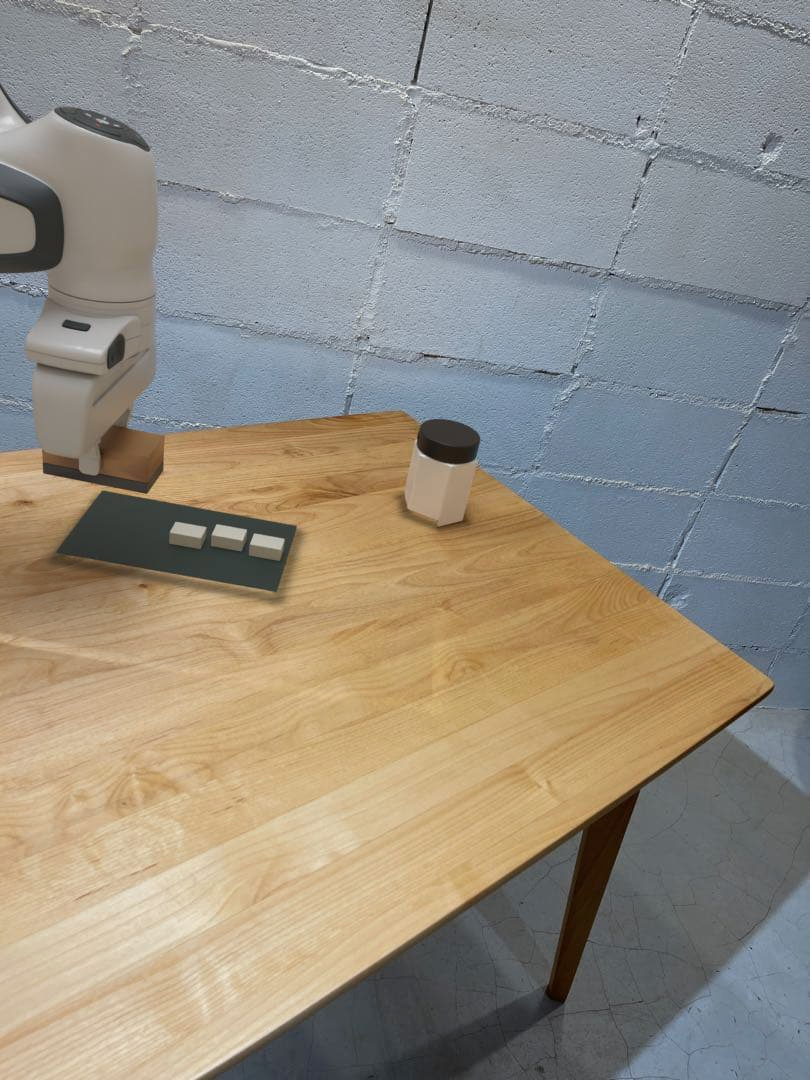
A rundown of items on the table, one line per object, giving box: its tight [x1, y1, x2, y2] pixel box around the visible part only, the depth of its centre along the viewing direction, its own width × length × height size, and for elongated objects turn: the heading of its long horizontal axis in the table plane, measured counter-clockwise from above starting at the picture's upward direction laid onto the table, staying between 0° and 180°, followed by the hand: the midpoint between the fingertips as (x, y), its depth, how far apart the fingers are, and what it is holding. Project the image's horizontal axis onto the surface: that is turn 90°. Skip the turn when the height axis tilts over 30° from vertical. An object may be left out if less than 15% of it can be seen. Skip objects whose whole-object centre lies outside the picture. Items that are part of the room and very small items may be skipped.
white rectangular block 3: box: [249, 533, 285, 561], centre depth 94 cm, size 4×2×2 cm, turn 87°
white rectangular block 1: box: [169, 522, 206, 549], centre depth 93 cm, size 4×2×2 cm, turn 87°
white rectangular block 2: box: [211, 524, 247, 552], centre depth 94 cm, size 4×2×2 cm, turn 87°
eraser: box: [41, 425, 166, 495], centre depth 79 cm, size 10×5×4 cm, turn 86°
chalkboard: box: [54, 490, 298, 593], centre depth 94 cm, size 24×14×1 cm, turn 87°
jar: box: [403, 418, 481, 528], centre depth 109 cm, size 9×8×12 cm
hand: (104, 456), depth 79 cm, fingers closed on eraser, 5 cm apart
